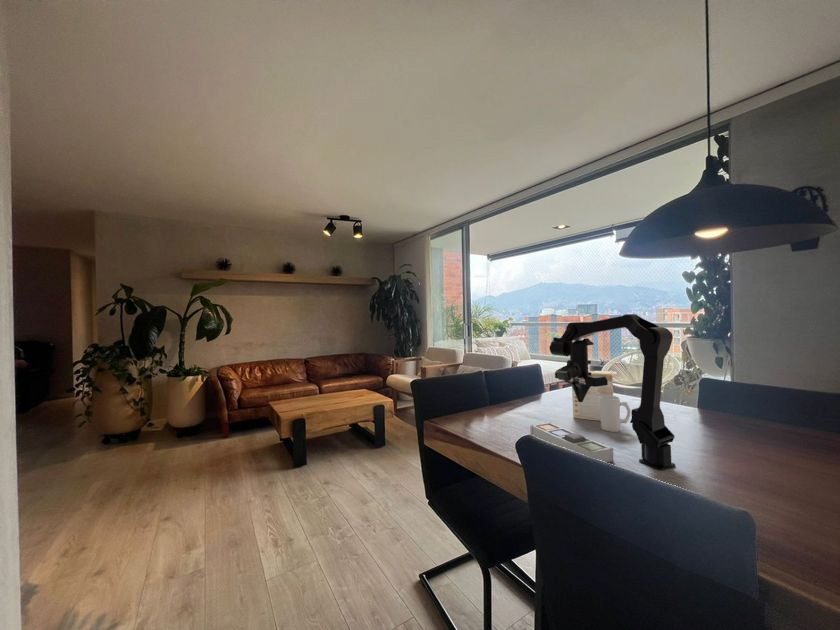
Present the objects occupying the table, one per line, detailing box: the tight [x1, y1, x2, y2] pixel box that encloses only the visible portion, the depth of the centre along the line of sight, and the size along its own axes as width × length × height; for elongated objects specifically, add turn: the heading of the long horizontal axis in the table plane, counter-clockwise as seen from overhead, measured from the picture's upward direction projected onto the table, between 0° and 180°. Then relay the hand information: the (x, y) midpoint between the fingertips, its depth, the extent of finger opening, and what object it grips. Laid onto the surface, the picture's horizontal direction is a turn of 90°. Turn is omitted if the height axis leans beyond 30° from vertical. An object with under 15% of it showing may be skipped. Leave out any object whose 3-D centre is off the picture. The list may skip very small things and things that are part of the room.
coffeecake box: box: [571, 369, 614, 422], centre depth 143 cm, size 15×7×20 cm, turn 59°
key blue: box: [551, 430, 569, 437], centre depth 116 cm, size 4×4×2 cm
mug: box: [599, 395, 631, 433], centre depth 129 cm, size 10×7×12 cm, turn 60°
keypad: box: [529, 421, 614, 463], centre depth 113 cm, size 27×9×4 cm, turn 19°
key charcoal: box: [565, 432, 586, 444], centre depth 110 cm, size 4×4×2 cm
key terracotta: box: [539, 425, 556, 431], centre depth 123 cm, size 4×4×2 cm
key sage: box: [580, 443, 602, 451], centre depth 104 cm, size 4×4×2 cm
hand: (580, 401), depth 121 cm, fingers closed
